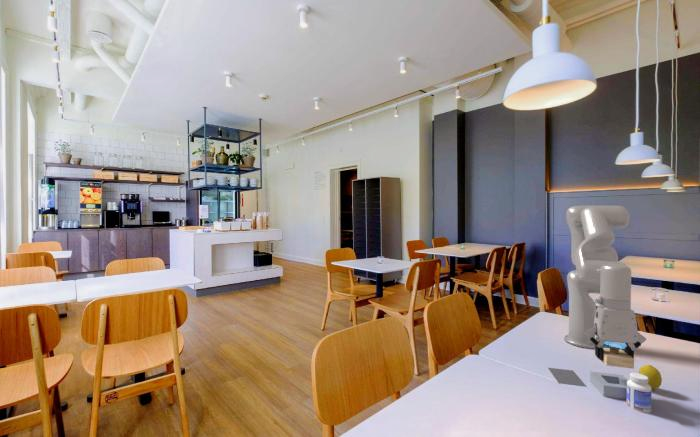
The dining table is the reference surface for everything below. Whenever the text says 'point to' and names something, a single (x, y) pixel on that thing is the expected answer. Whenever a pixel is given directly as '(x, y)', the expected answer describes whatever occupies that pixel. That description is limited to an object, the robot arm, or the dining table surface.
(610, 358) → the lid
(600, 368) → the dining table surface
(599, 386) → the grey square container
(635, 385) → the pill bottle
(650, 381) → the lemon
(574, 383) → the grey rectangular plate
